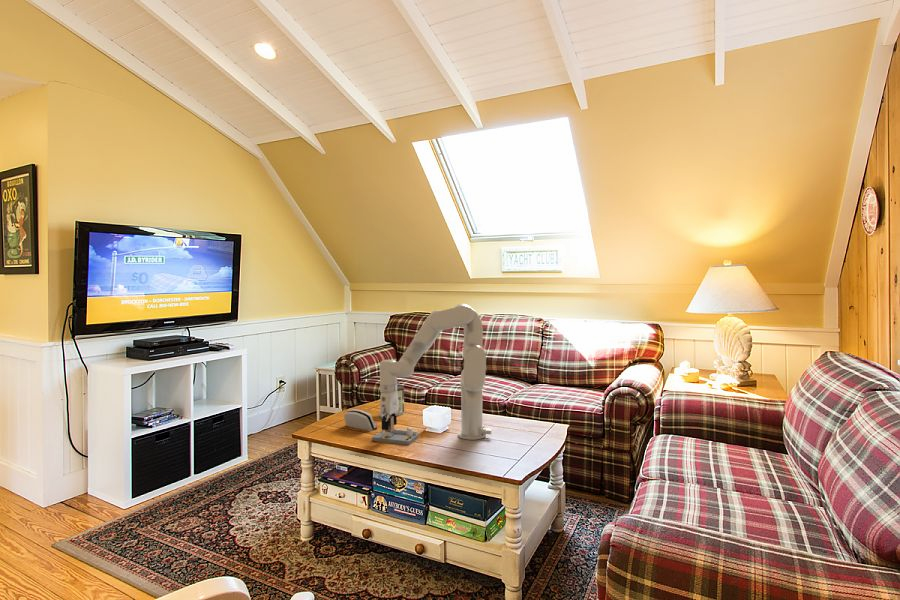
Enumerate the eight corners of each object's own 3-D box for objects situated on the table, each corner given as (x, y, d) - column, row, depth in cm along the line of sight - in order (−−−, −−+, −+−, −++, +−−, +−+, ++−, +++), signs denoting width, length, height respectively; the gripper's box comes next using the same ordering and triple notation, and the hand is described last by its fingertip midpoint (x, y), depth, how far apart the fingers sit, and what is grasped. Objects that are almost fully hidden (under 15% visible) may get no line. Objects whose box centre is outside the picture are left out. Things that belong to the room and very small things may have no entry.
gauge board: (418, 437, 223) (418, 425, 223) (409, 444, 214) (409, 432, 214) (382, 433, 229) (382, 422, 229) (372, 440, 220) (371, 428, 220)
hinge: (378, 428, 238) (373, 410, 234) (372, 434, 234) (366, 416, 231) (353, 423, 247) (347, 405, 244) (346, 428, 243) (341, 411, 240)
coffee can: (392, 409, 271) (392, 384, 270) (408, 412, 265) (407, 386, 265) (380, 414, 262) (380, 387, 261) (396, 417, 257) (396, 390, 256)
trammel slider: (396, 432, 225) (396, 415, 224) (387, 438, 216) (387, 420, 216) (388, 432, 226) (388, 414, 226) (379, 438, 218) (379, 419, 217)
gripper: (387, 392, 212) (388, 433, 213) (404, 384, 228) (405, 422, 229) (371, 391, 215) (372, 432, 215) (389, 383, 231) (390, 421, 232)
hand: (389, 426), depth 222 cm, fingers open, 7 cm apart
